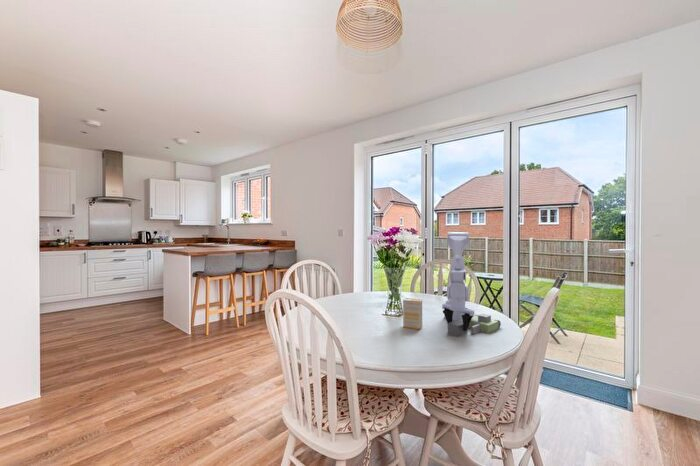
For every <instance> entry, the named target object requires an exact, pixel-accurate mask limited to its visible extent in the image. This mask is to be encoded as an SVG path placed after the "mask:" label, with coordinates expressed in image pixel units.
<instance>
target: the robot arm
mask: <svg viewBox="0 0 700 466" xmlns="http://www.w3.org/2000/svg"><path fill="white" fill-rule="evenodd" d="M469 235H470V234H469V232H468V231H466V232H465V231H464V232H462V231H461V232H459V231H458V232H457V231H455V232H454V231H448V232H447V246H448V248H449V249H451V250H452V253H453V257H451V259H450V260H451V262H450V263H451V265H450V272H449V284H448V285H447V297H446V299H447V300H446V301H445V303H443V304H442V306H441V307H442V314H443V315H444V316H443V318H444V319H446V324H447V325H448V323H449V322H452V321H455V320H459V321H460V320H463V331H467V332H468V331H469V328H468V326H469V323H470V321H471V319H472V317H473V315H475V310H473V309H470V308H468V307H466V302H468V301H469V287H468V285H467V284H466V282H467V272H466V266H465V265H466V263H465V262H466V261H465V258H464V257H463V252H464V250H466V249H468V247H469V241H470V240H469V239H470V237H469Z"/></svg>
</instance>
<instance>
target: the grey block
mask: <svg viewBox="0 0 700 466" xmlns="http://www.w3.org/2000/svg"><path fill="white" fill-rule="evenodd" d="M467 334H468V330H467V331H463V321H459V320H455V321H454V320H452V322H449V323H448V324H447V335H449V336H452V337H454V338H455V337H456V338H461V337H463V336H465V335H467Z"/></svg>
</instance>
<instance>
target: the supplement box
mask: <svg viewBox="0 0 700 466" xmlns="http://www.w3.org/2000/svg"><path fill="white" fill-rule="evenodd" d="M402 317H403V318H402V320H403V322H402V324H403V325H402V326H403V328H404V329H405V328H406V329H414V330H415V329H416V330H422V328H423V298H413V297H404V299H402Z"/></svg>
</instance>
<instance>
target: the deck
mask: <svg viewBox="0 0 700 466" xmlns="http://www.w3.org/2000/svg"><path fill="white" fill-rule="evenodd" d="M460 321H463V320H460ZM501 325H502V324H501V320H499V319H495V320H494V319H492V315H490V314H485V313H481V314H474V315H473V317H472V319H471V321H470V323H469V326H468V329H470V333H471V335H475V334H477V333H479V332H483V333H486V334H489V333H493V332H494V331H497V330H499V329H500V327H501Z"/></svg>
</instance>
